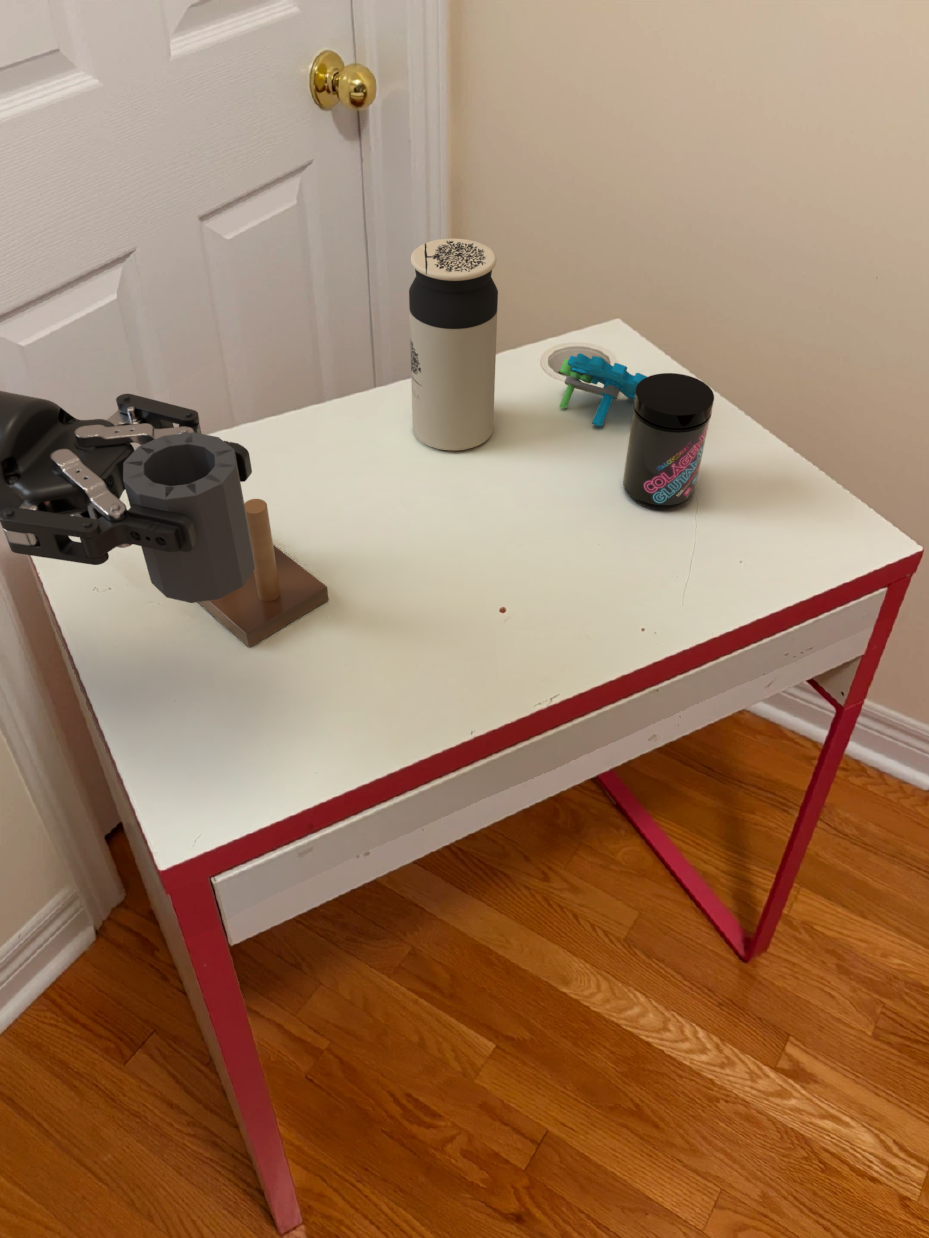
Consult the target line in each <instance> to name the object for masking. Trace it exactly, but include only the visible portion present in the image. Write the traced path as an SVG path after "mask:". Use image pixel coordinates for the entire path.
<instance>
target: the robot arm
mask: <svg viewBox="0 0 929 1238" xmlns="http://www.w3.org/2000/svg"><path fill="white" fill-rule="evenodd" d="M115 401H116V405H117V410H116V411H115V412H114V413H113V414H112V415H110V416H109V417H108V418H107V419H104V418H94V419H78V418H77V417H74V416H73V415H72V414H70V413H69V412H67V411H66V410H65V409H63V407H62V406H60V405H58V404H57V403H56V402H54V401H51V400H49V399H45V398H40V397H35V396H29V395H24V394H18V393H14V392H9V391H3V390H0V526H1V528H2V531H3V533H4V535H5V538H6V541H7V543H8V546H9V548H10V549H9V550H10V551H11V552H12V553H14V554H19V555H25V556H32V557H39V558H45V559H52V560H58V561H65V562H72V563H78V564H83V565H84V564H85V565H90V566H91V565H92V566H99V565H103V564H104V563H106V562H107V561H108V560H109V557H110V555H109V552H110V551H112V550H114V549H115V548H119V549H123V548H124V549H125V548H128V547H130V546H132V545H133V546H139V547H141V546H143V547H147V548H154V549H156V550H161V551H165V552H178V551H183V552H190V551H191V550H192V549H193V548H194V546H195V545H196V544H197V536H196V531H195V527H194V523H193V521H192V519H191V518H190V517H188V516H186V515H183V514H178V513H174V512H167V511H163V510H158V509H153V508H149V507H144V506H141V505H136V504H133V505H132V506H131V507H130V508H127V505H126V504H125V503H124V502H123V501H122V500H121V497H122V495H123V493H124V491H126V489H125V486H124V482H123V463H124V462H125V461H126V459H127V458H128V457H129V456H130V455H131V454H132V453H133V452H134V451H135V450H136V449H135V447H134V446H133V445H132V443H133V444H134V443H135V444H138V445H139V446H141V445H143V444H146V443H148V442H150V441H152V440H155V439H157V438H159V437H162V436H166V435H174V434H183V433H191V432H195V433H200V434H203V433H202V428H201V425H200V416H199V412H198V411H197V410H195V409H192V408H189V407H183V406H179V405H176V404H173V403H168V402H164V401H160V400H156V399H154V398H153V399H152V398H149V397H144V396H140V395H137V394H132V393H122V394H119V395H118V396H117V397H116V398H115ZM174 424H175V425H178V426H176V427H175V426H174ZM223 441H224V442H225V443H227V444H228V445H229V446H231V447H232V448H233V449H234V450H235V455H236V461H237V466H238V472H239V477H240V483H244V482H246V481H247V480H248V479H249V478H250V476H251V475H252V474H253V469H252V462H251V456H250V452H249V450H248V449H247V448H246V447H244V445H242V444H241V443H238V442H234V441H228V440H223ZM71 537H73V538H79V541H75V540H73V539H72V538H71Z"/></svg>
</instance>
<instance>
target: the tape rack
mask: <svg viewBox="0 0 929 1238" xmlns="http://www.w3.org/2000/svg"><path fill="white" fill-rule="evenodd" d="M244 505H245V510H246V516H247V521H248V527H249V533H250V538H251V544H252V549H253V557H254V565H255V569H254V571H253V572H252V574H251V575H250V577H249V578H248V579H247V581H246V582H245V584H244V585H243V587H241V588H239V589H237V590H235V591H233V592H232V593H230V594H228V595H226V596H224V597H222V598H220V599H216V600H209V601H202V602H197V603H198V604H199V605H200V606H201V607H202V608H204V609H205V610H206V611H207V612H208V613H209V614H210V615H212V617H214V618H215V619H216V620H217V621H218V622H220V623H221V624H222V625H223V626H224V627H225V628H226V629H227V630H229V632H230V633H232V634H233V635H234V636H235V637H237V638H238V639H239V640H240V641H241V642H242V643H243V644H244V645H246V646H247V647H248V648H251V647H253V646H255V645H256V644H258V643H259V642H262V640H265V639H266V638H268V637H269V636H271V635H273V634H274V633H276V632H278V631H279V630H281V629H283V628H284V627H286V626H288V625H289V624H291V623H292V622H293V623H294V621H296V620H298V619H299V618H301V617H303V616H305V615H306V614H308V613H309V612H311V611H313V610H315V609H316V608H318V607H320V606H321V605H323V604H325V603H326V602H328V601H329V589H328V586H327V585H326V584H324V583H323V582H322V581H321V580H319V579H318V578H316V577H315V576H314V575H313V574H312V573H310V572H309V571H307V570H306V569H305V568H304V567H302V566H301V565H300V564H298V563H297V562H296V561H294V559H292V558H291V557H290V556H288V555H287V554H286V553H284V552H283V551H282V550H281V549H279V548H278V547H277V546H275V545H274V541H273V535H272V527H271V522H270V515H269V508H268V503H267V502H266V500H264V499H262V498H252V499H249V500H247V501H244Z"/></svg>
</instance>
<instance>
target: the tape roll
mask: <svg viewBox="0 0 929 1238" xmlns="http://www.w3.org/2000/svg"><path fill="white" fill-rule="evenodd" d="M224 441H225V440H223V439H222V438H221V437H219V436H215V435H209V434H204V433H202V434H200V433H195V432H191V433H183V434H174V435H166V436H162V437H159V438H157V439H155V440H152V441H150V442H148V443H146V444H143V445H139V446H137V447H136V448H135V449H134V450H135V451H134V452H133V453H132V454H131V455H130V456H129V457H128V458H127V459H126V461H125V462H124V463H123V482H124V486H125V493H126V496H127V500H128V503H129V507H130V508H131V506H132V505H133V504H136V505H141V506H144V507H149V508H153V509H158V510H163V511H167V512H174V513H178V514H183V515H186V516H188V517H190V518H191V519H192V521H193V523H194V527H195V531H196V536H197V544H196V545H195V546H194V548H193V549H192V550H191V551H190V552H183V551H178V552H165V551H161V550H156V549H154V548H147V547H143V546H140V547H141V551H142V554H143V557H144V561H145V565H146V569H147V573H148V576H149V579H150V583H151V584H152V585H153V587H155V588H156V589H157V590H158V591H159V592H160V593H161V594H162V595H163V596H164V597H165V598H168V599H173V600H175V601H180V602H185V603H189V604H195V603H198V602H202V601H209V600H216V599H220V598H222V597H224V596H226V595H228V594H230V593H232V592H233V591H235V590H237V589H239V588H241V587H243V585H244V584H245V582H246V581H247V579H248V578H249V577H250V575H251V574H252V572H253V571H254V569H255V565H254V557H253V549H252V544H251V538H250V533H249V527H248V521H247V516H246V510H245V505H244V503H245V499H244V494H243V489H242V482H240V477H239V472H238V466H237V461H236V455H235V450H234V449H233V448H232V447H231V446H229V445H228V444H227V443H225V442H224Z"/></svg>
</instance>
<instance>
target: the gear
mask: <svg viewBox="0 0 929 1238" xmlns="http://www.w3.org/2000/svg"><path fill="white" fill-rule="evenodd" d="M627 370H628V367H627V366H626V365H624V364H621V363H618V362H614V364H613V365H612V364H610V363H609V362H608V361H607V360H605V358H604V357H601V356H596V355H592V356H591V358H590V357H588V355H585V354H583V353H581V352H579V353H577V354H576V356H575V355H570V356H569V359H568V358H564V360H563V362H562V365H561V367H560V369H559V373H561V374H563V375H566V378H565V379H564V382H563V383H564V384H565V385H566V386H567V387H566V389H565V392H564V394H563V396H562V399H561V401H560V404H559V407H560V408H562V409H565V410H566V409H567V407H568V405H569V402H570V401H571V398H572V395H573V393H574V392H575V391H574V390H580V391H583V392H585V393H586V392H587V393H590V394H593V395H598V396H601V397H602V398H601V399H600V402H599V405H598V407H597V409H596V412H595V414H594V417H593V419H592V422H591V424H592V425H593V426H596V427H599V428H602V427H603V424H604V422H605V419H606V417H607V415H608V412H609V410H610V407H611V405H612V403H613V400H617V398H618V396H619V394H620V393H621V394H622V395H624V396H625V397H626V398H628V399H630V400H633V401H634V398H635V391H636V387H637V385H638V383H639V382H640V381H641V380H643V379H644V378H646V377H648V376H647V375H646V374H645V375H644V374H643V373H640V372H635V375H633V374H631V373H630V372H629V371H627ZM598 383H600V384H601V385H603V387H601V386H597V385H598Z"/></svg>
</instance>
